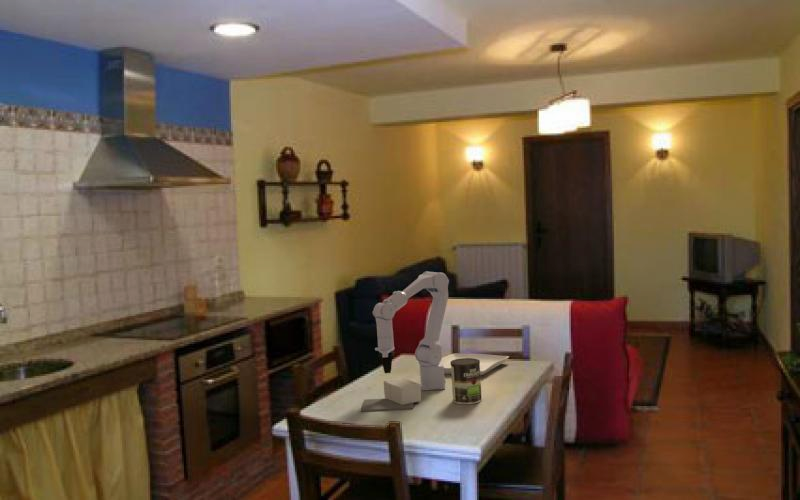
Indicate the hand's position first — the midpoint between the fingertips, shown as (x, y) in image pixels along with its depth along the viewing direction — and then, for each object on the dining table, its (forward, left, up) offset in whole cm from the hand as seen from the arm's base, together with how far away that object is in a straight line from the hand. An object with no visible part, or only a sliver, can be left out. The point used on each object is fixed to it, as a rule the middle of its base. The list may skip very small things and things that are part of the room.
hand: (387, 372), depth 264 cm
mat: (0, +9, -9) cm, 13 cm away
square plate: (-30, -38, -10) cm, 50 cm away
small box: (-2, -1, -6) cm, 6 cm away
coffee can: (-28, +8, -10) cm, 31 cm away
